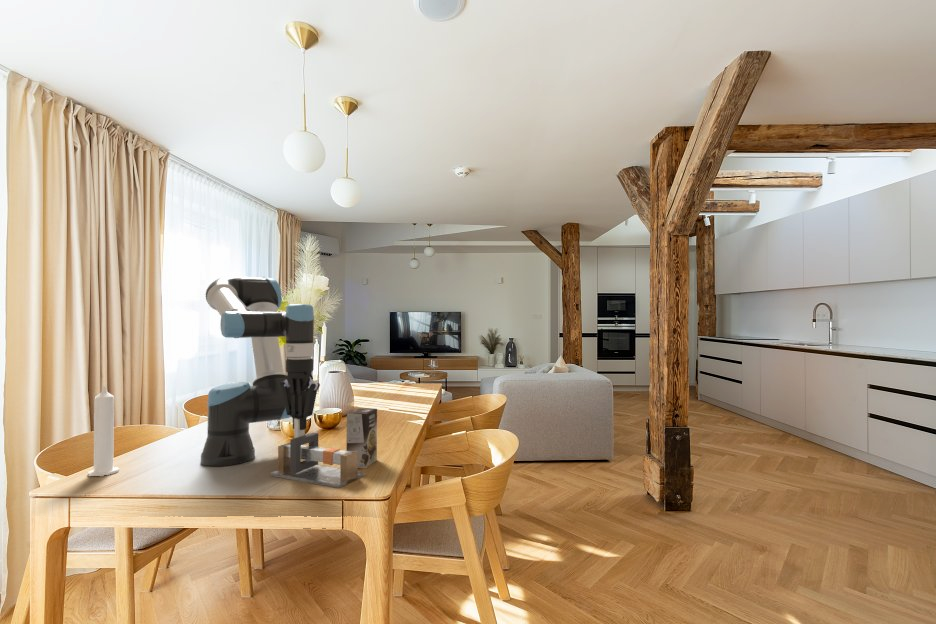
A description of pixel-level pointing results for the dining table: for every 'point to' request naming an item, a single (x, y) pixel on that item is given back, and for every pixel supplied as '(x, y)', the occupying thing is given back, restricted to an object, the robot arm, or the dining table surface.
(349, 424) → the coffee box
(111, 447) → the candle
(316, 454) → the rail
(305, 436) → the grey square ring
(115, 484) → the dining table surface
